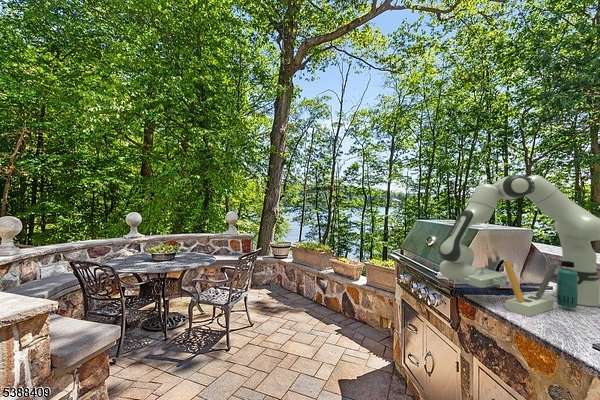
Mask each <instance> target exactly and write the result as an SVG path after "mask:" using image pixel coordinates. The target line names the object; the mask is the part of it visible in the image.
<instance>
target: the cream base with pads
mask: <svg viewBox="0 0 600 400" xmlns="http://www.w3.org/2000/svg"><path fill="white" fill-rule="evenodd" d="M522 295H523V294H522ZM535 295H536V293H535V294H534V293H532V292H531V293H527V294H524V295H523V297H524V300H523V301H517V299H516V297H513V298H510V299H506V300H505V301H506V304H505V305H506V307H505V308H506V309H505V310H506V311H508V312H513V313H514V314H515V313H516V314H517V315H521V316H525V317H527V318H530V317H533V316H536V315H538V314H541V313H543V312H547V311H549V310H552V309H554V298H551V297H547V296H542V297H537V296H535Z"/></svg>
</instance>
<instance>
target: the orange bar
mask: <svg viewBox="0 0 600 400" xmlns="http://www.w3.org/2000/svg"><path fill="white" fill-rule="evenodd" d="M502 263H503V266H504V269H505V271H506V275H507V278H508V281H509V284H510V285H511V288H512V291H513V293H514V296H515V297H514V298H516V299H517V301H523V300H524V297H523V292H522V290H521V287H520V283H519V282H518V279H517V276H516V273H515V270H514V268H513V265H512V262H511V260H506V261H504V260H503V262H502Z"/></svg>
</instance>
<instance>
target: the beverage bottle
mask: <svg viewBox="0 0 600 400" xmlns="http://www.w3.org/2000/svg"><path fill="white" fill-rule="evenodd" d="M560 262H561V263H560V266H561V268H562V266H564V267H572V268H573V267H575V266H574V262H570V261H563V260H562V261H560ZM561 268H560V269H558V270H557V278H556V287H557V297H556V303H557V305H558V306H560V307H565V308H567V309H576V308H578V304H577V303H578V302H577V297H578V296H577V295H578V294H577V280H578V273H577V272H576V271H574V270H571V269H564V268H562V269H561Z"/></svg>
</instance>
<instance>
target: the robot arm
mask: <svg viewBox="0 0 600 400" xmlns="http://www.w3.org/2000/svg"><path fill="white" fill-rule="evenodd" d="M523 197H526V198H528V200H529V201H531V202H532V204H533V205H535V206H536V207H537V208H538V209H539V210H540V212H543V214H544V215H545V216H546V217H549V218H550V219H552V220H554V224H553V226H554V229H555V231H556V232H557V235H558V238H559V243H560V246H561V250H562V251H561V252H562V261H570V262H574V266H575V267H573V268H572V267H564V266H561V268H560V269H562V268H564V269H571V270H574V271H576V272H577V273H578V280H577V294H578V295H577V296H578V297H577V302H578V303H577V305H581V306H588V307H598V308H600V281H599V279H600V278H599V274H600V272H599V271H598V270H597V259H598V258H597V253H596V251H595V250H594V249H593V247H592V243H591V242H594V241H600V217H597V216H596V215H594V214H593V213H591V212H590V211H588V210H586V209H585V208H583V207H582V206H580V205H579V204H577V203H576V202H575V201H573V200H571V199H570V198H569V197H568V196H567V195H566V194H565V193H564V192H562V191H561V190H560V189H559V188H558V187H557V186H555V185H554V184H553V183H552V182H550V181H549V180H548V179H546V178H544V177H543V176H541V175H539V174H532V175H529V176H525V175H520V174H513V175H509V176H505V177H502V178H501V179H497V180H496V181H494V182H493V183H492V184H491V183H481V184H479V185H478V186H477V188H476V189H475V190H474V192H473V194H472V196H471V197H470V200H469V201H468V203H467V205H466V208H464V210H463V211H462V212H460V214H459V215H458V217H457V218H456V220H455V222H454V223H453V226H452V227H451V229H450V230H449V232H448V234H447V236H446V237H445V238H444V239H443V240H442V241H441V242H440V244H439V246H438V254H439V257H440V258H441V259H442V260H443V261H442V262H440V263H439V266H438V267H439V272H440V274H441V276H442V277H444V278H446V279H448V280H450V281H453V282H459V283H460V282H461V283H463V284H466V285H468V286H473V287H476V288H479V289H480V288H481V289H482V288H487V287H488V288H489V287H493V286H502V287H507V286H510V280H508V274H507V273H504V272H500V271H495V270H491V269H489V268H487V267H481V266H480V267H479V266H474V265H473V263H474V259H475V253H474V251H473V249H472V248H471V247H469V246H466V245H465V244H461V243H462V240H463V238H464V237H465V235H466V234H467V231H468V230H469V228H470V227H471V226H473V225H480V224H484V223H487V222H488V221H489V220H490V219H491V217H492V215H493V214H494V211H495V209H496V207H497V204H498V203H499V201H510V200H515V199H517V198H518V199H519V198H523ZM551 295H553V296H554V297H556V298H557V286H556V289H555V292H552V294H551Z"/></svg>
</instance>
